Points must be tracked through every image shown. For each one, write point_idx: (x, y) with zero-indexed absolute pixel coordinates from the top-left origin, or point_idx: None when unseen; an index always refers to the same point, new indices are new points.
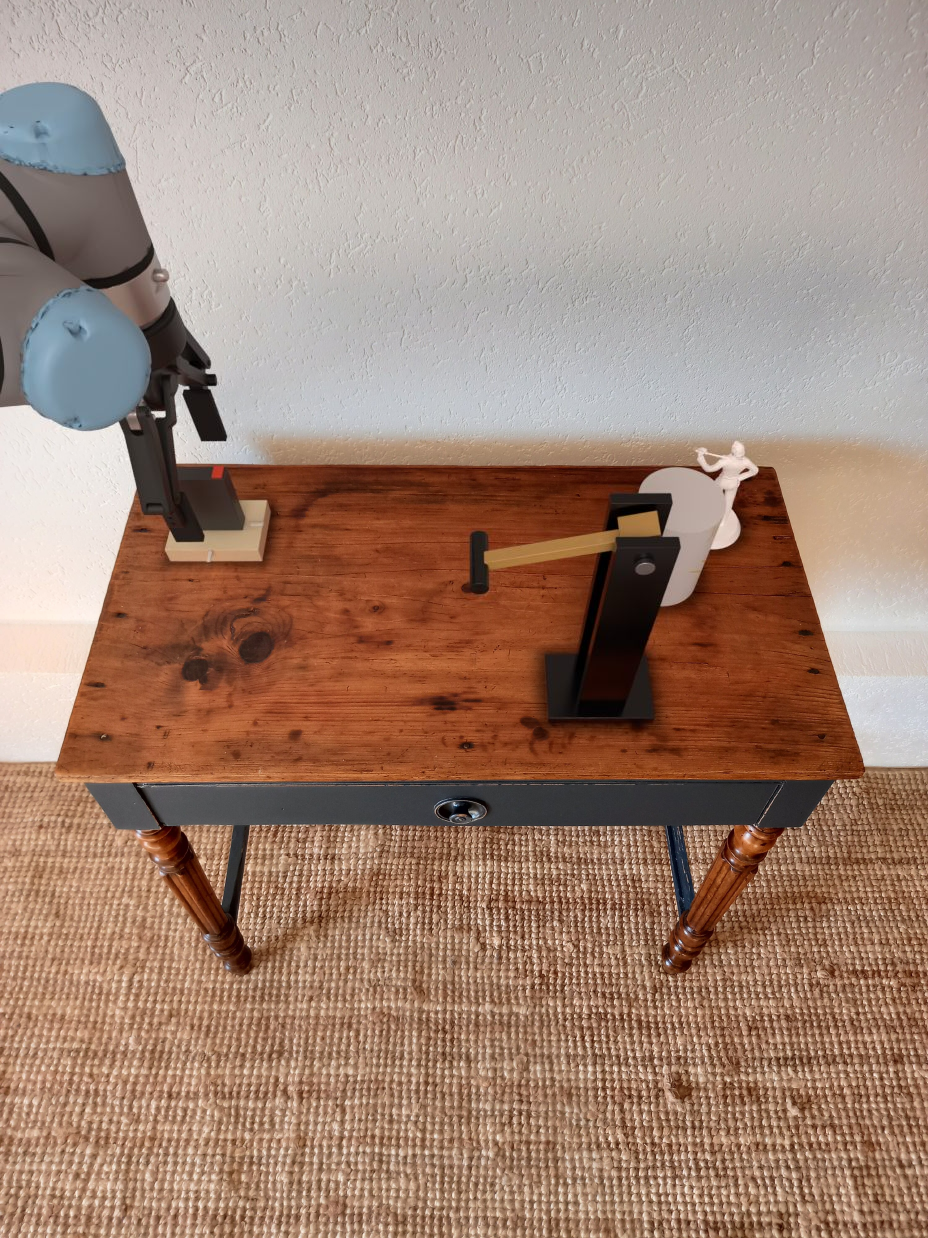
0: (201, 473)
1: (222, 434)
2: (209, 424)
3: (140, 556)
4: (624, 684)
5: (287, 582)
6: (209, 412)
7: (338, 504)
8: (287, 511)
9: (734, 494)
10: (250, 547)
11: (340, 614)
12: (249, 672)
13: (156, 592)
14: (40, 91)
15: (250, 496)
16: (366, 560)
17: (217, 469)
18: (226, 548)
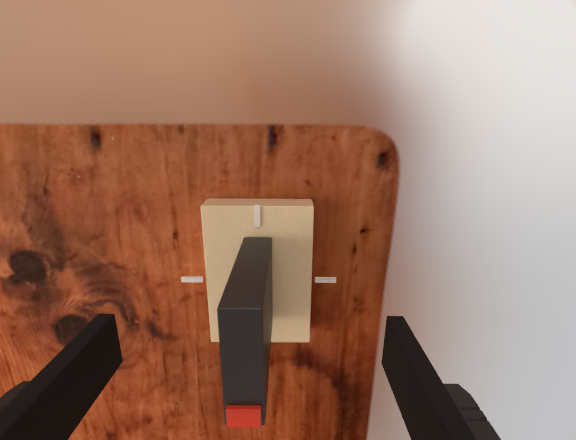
0: (242, 382)
1: (388, 375)
2: (400, 383)
3: (215, 145)
4: None
5: (184, 357)
6: (415, 429)
7: (318, 401)
8: (307, 344)
9: None
10: (214, 331)
11: (143, 414)
12: (40, 330)
13: (146, 187)
14: None
15: (339, 294)
16: (225, 434)
17: (249, 417)
18: (211, 299)
